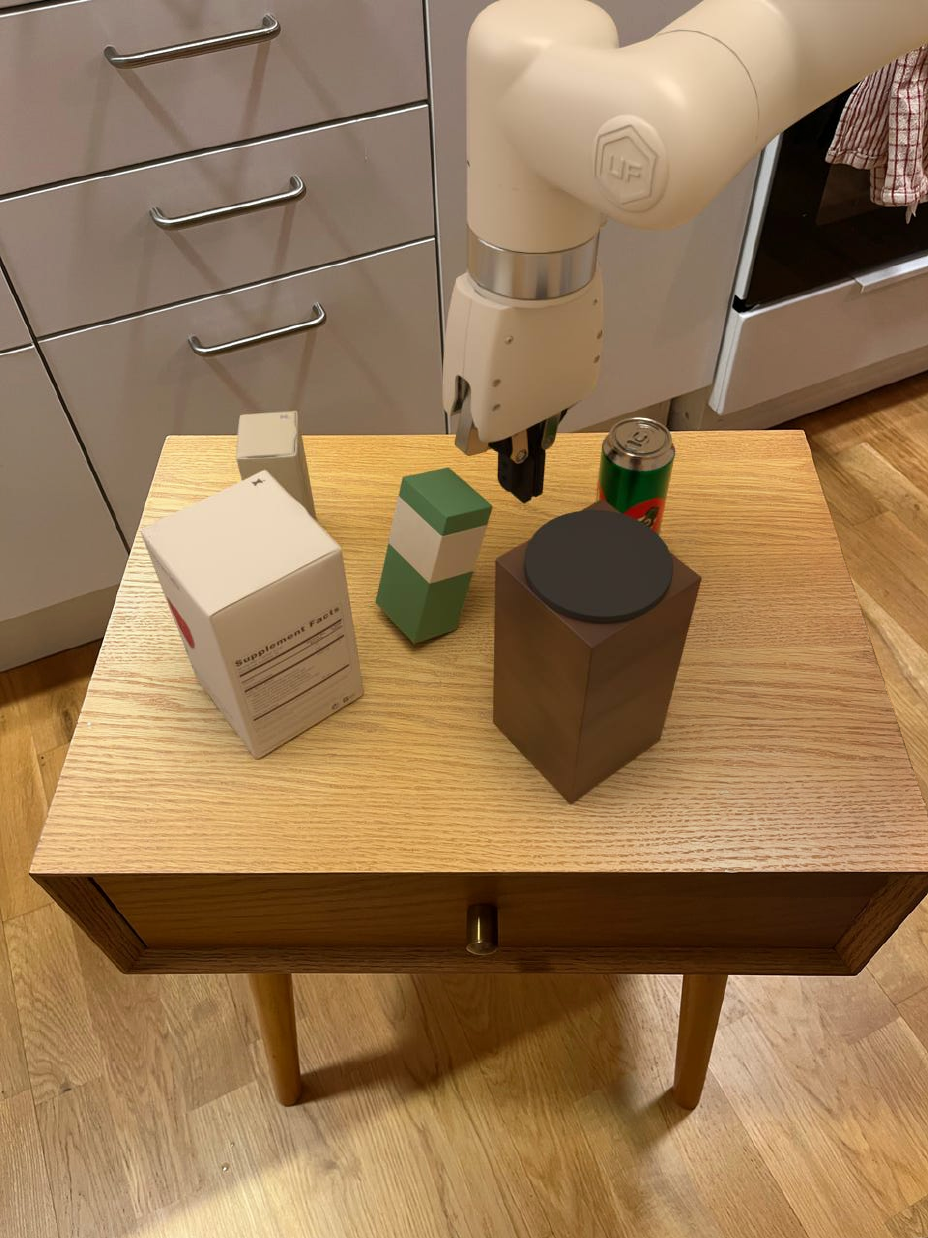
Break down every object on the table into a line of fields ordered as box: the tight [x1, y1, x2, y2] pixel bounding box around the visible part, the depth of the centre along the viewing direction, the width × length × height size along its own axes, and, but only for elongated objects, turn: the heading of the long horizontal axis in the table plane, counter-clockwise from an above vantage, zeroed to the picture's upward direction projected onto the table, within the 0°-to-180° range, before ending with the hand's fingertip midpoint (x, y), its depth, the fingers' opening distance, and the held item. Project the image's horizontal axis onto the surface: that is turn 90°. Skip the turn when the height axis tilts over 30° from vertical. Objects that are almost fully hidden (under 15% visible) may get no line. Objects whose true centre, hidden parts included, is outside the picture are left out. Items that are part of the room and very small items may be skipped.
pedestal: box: [492, 499, 703, 805], centre depth 59 cm, size 8×8×16 cm
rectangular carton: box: [139, 470, 365, 760], centre depth 62 cm, size 9×9×15 cm
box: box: [235, 410, 318, 523], centre depth 73 cm, size 5×4×11 cm
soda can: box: [594, 416, 676, 536], centre depth 70 cm, size 5×5×12 cm
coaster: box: [524, 509, 673, 623], centre depth 52 cm, size 8×8×1 cm
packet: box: [375, 467, 493, 645], centre depth 67 cm, size 11×5×4 cm
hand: (519, 488), depth 69 cm, fingers closed
